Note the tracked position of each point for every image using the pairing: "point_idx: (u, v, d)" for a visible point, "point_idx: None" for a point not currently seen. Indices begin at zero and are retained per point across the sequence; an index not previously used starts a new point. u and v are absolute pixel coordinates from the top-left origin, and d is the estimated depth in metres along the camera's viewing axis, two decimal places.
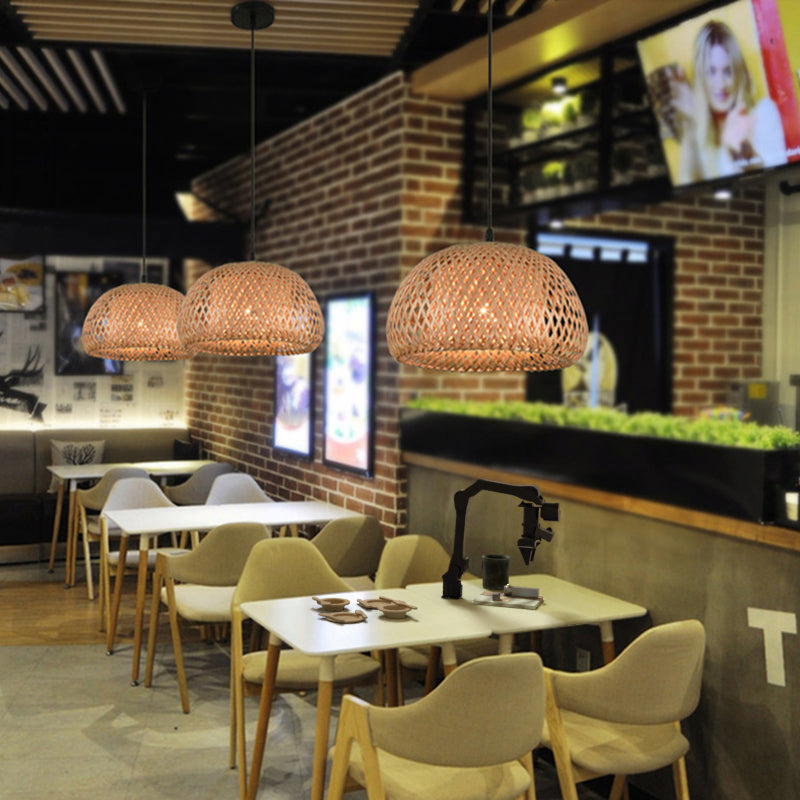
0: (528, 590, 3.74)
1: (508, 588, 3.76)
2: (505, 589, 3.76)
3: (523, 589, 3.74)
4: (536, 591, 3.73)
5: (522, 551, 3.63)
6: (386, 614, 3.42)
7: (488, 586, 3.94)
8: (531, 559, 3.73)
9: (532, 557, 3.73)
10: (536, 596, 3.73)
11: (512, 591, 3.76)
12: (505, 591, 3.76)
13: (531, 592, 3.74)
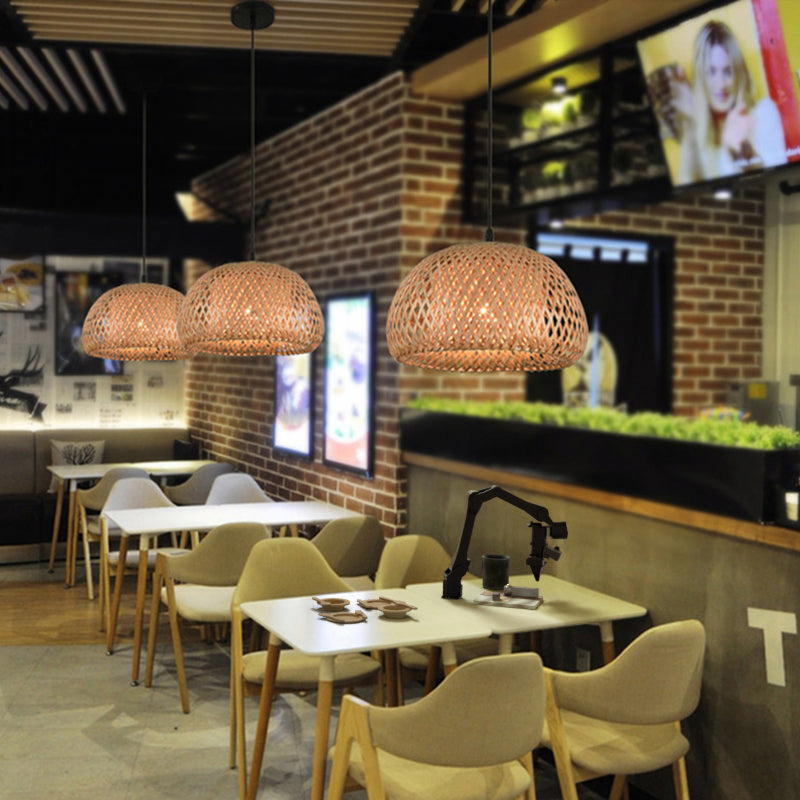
0: (528, 590, 3.74)
1: (508, 588, 3.76)
2: (505, 589, 3.76)
3: (523, 589, 3.74)
4: (536, 591, 3.73)
5: (532, 568, 3.79)
6: (386, 614, 3.42)
7: (488, 586, 3.94)
8: None
9: None
10: (536, 596, 3.73)
11: (512, 591, 3.76)
12: (505, 591, 3.76)
13: (531, 592, 3.74)
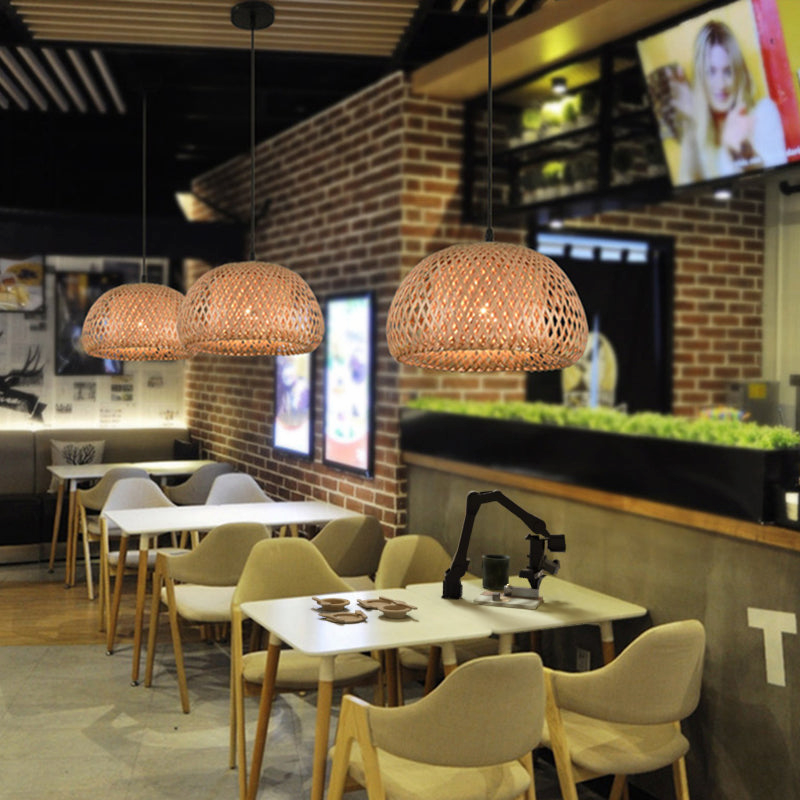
0: (528, 590, 3.74)
1: (508, 588, 3.76)
2: (505, 589, 3.76)
3: (523, 589, 3.74)
4: (536, 591, 3.73)
5: (530, 580, 3.76)
6: (386, 614, 3.42)
7: (488, 586, 3.94)
8: None
9: None
10: (536, 596, 3.73)
11: (512, 591, 3.76)
12: (505, 591, 3.76)
13: (531, 592, 3.73)
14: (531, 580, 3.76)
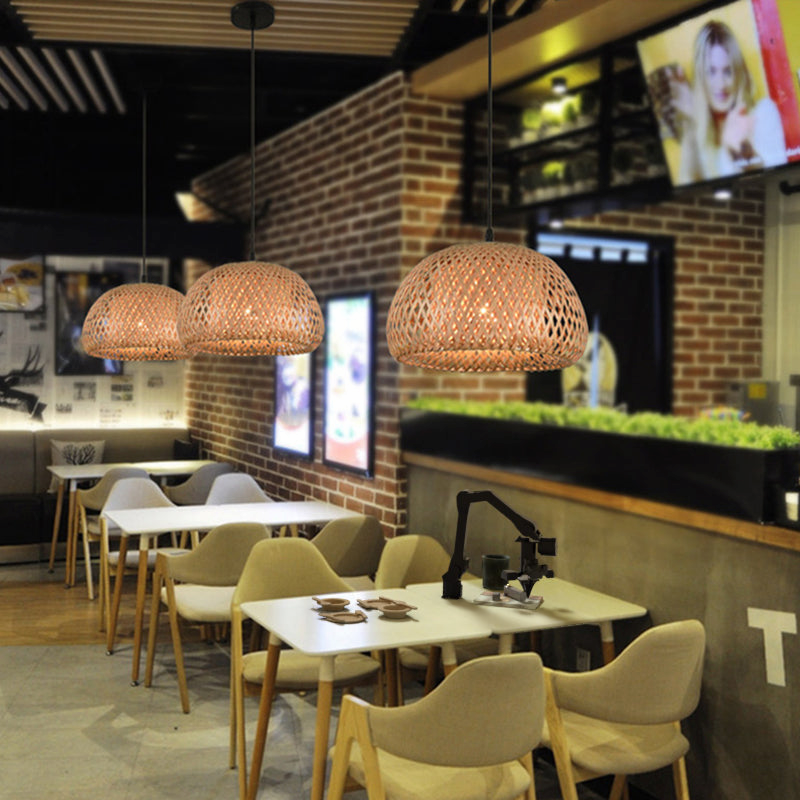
0: (515, 592, 3.70)
1: (504, 587, 3.76)
2: (504, 588, 3.78)
3: (513, 590, 3.72)
4: (519, 594, 3.67)
5: (521, 583, 3.70)
6: (386, 614, 3.42)
7: (488, 586, 3.94)
8: None
9: None
10: (519, 599, 3.67)
11: (507, 591, 3.75)
12: (504, 590, 3.78)
13: (516, 595, 3.69)
14: (522, 583, 3.70)
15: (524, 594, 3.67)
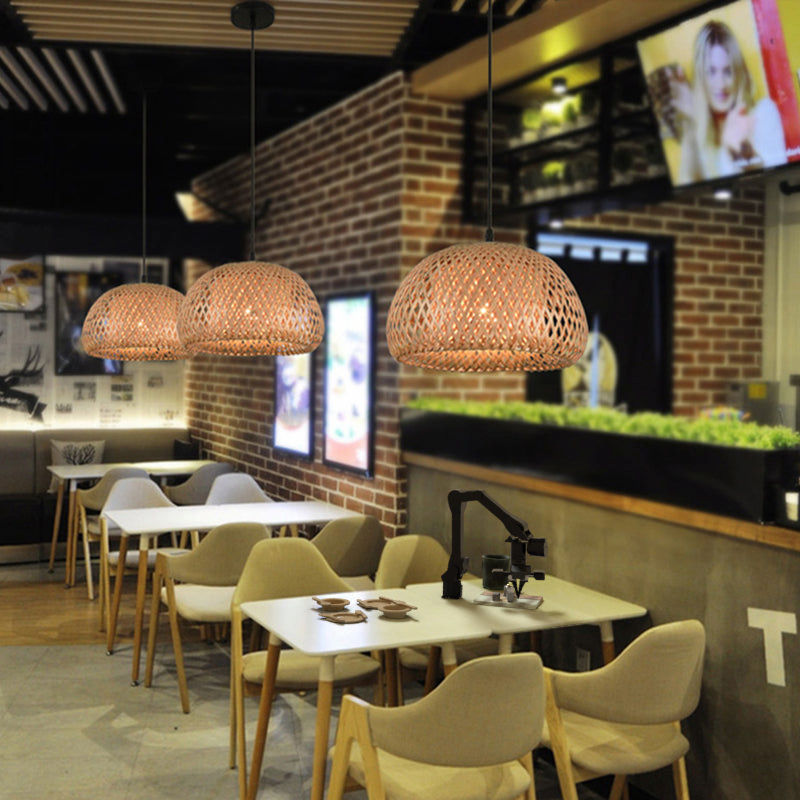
0: None
1: (504, 587, 3.77)
2: None
3: (506, 590, 3.72)
4: (507, 594, 3.67)
5: None
6: (386, 614, 3.42)
7: (488, 586, 3.94)
8: None
9: None
10: (507, 599, 3.67)
11: (505, 591, 3.76)
12: None
13: None
14: None
15: (512, 594, 3.66)
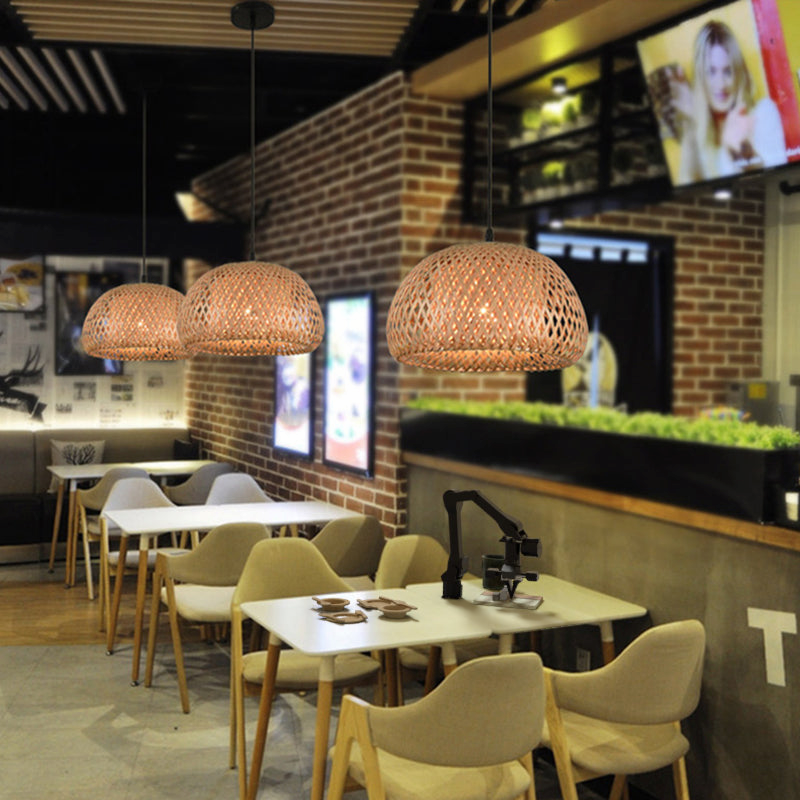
0: None
1: (504, 587, 3.78)
2: None
3: None
4: (500, 593, 3.68)
5: None
6: (386, 614, 3.42)
7: (488, 586, 3.94)
8: None
9: None
10: (500, 598, 3.68)
11: None
12: None
13: None
14: None
15: (504, 594, 3.67)
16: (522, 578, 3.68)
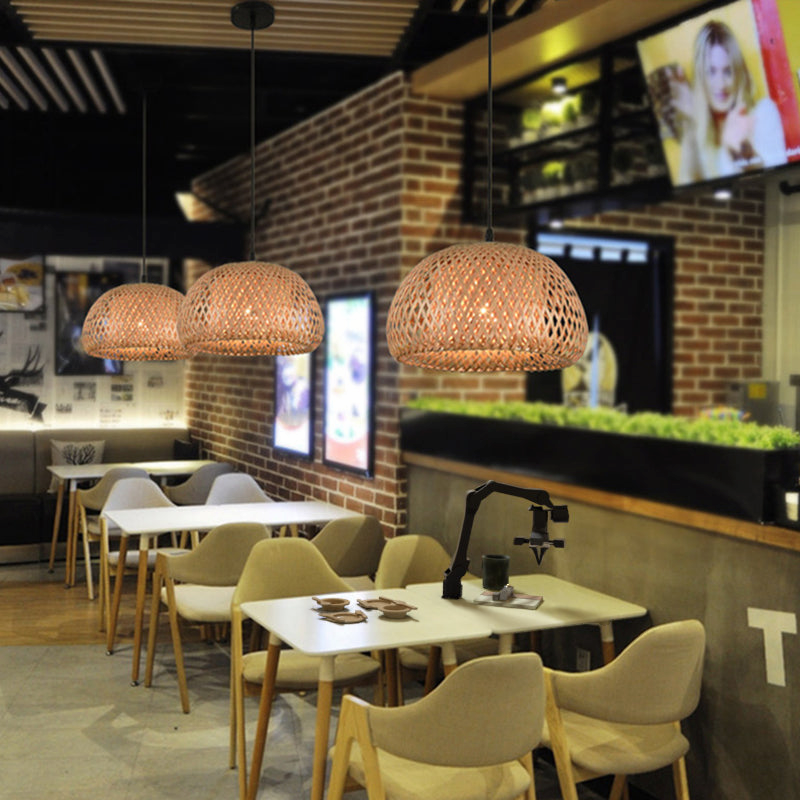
0: None
1: (504, 587, 3.78)
2: None
3: None
4: (500, 593, 3.68)
5: None
6: (386, 614, 3.42)
7: (488, 586, 3.94)
8: None
9: None
10: (500, 598, 3.68)
11: None
12: None
13: None
14: None
15: (504, 594, 3.67)
16: (549, 545, 3.80)
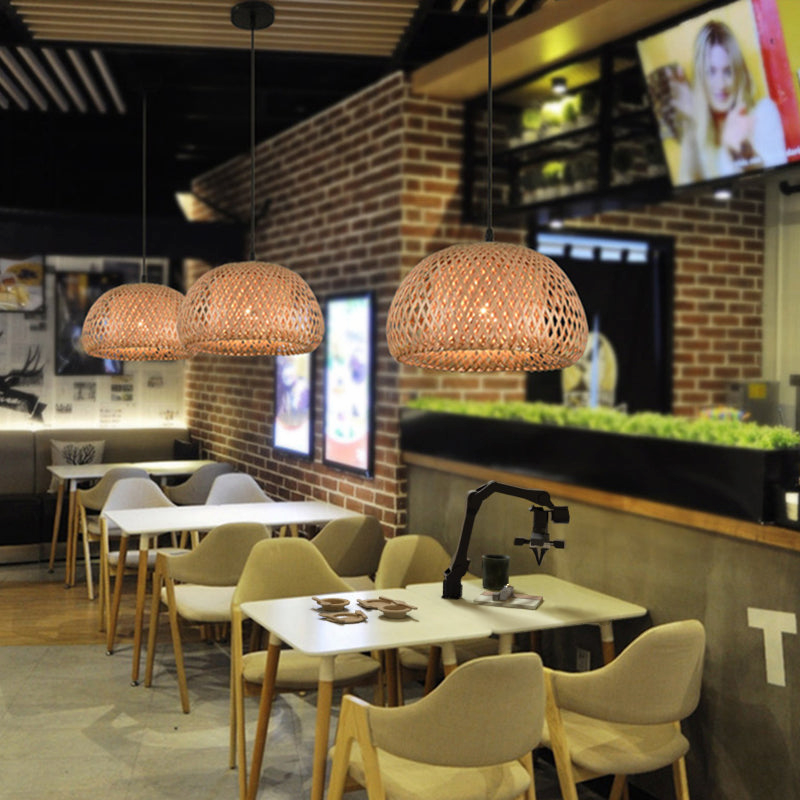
0: None
1: (504, 587, 3.78)
2: None
3: None
4: (500, 593, 3.68)
5: None
6: (386, 614, 3.42)
7: (488, 586, 3.94)
8: None
9: None
10: (500, 598, 3.68)
11: None
12: None
13: None
14: None
15: (504, 594, 3.67)
16: None
